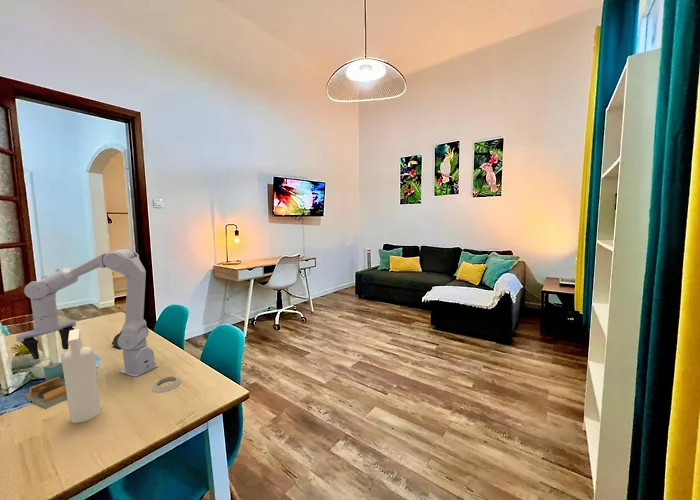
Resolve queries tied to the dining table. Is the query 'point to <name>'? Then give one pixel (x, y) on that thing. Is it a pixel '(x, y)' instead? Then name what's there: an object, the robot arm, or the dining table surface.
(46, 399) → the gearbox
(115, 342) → the stone
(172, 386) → the ring
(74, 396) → the white bottle
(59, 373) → the spout can
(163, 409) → the dining table surface
